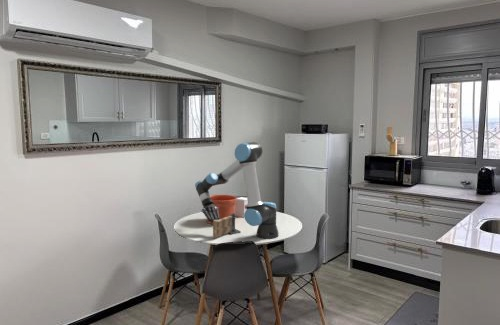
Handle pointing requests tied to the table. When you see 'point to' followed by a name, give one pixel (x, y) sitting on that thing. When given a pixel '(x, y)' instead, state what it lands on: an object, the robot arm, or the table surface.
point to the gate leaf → (222, 226)
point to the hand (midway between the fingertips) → (218, 228)
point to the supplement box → (241, 206)
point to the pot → (224, 205)
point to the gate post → (233, 225)
